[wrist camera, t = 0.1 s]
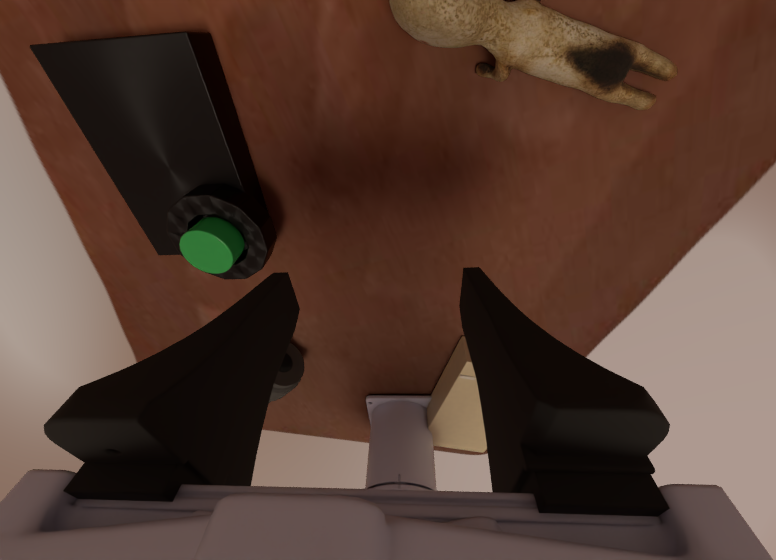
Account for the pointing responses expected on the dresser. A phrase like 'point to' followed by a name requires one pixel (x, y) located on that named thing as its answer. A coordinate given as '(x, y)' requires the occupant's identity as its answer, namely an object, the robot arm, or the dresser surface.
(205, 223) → the release button
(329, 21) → the dresser surface
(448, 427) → the dial box
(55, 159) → the dresser surface
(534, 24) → the figurine
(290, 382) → the flashlight
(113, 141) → the box
